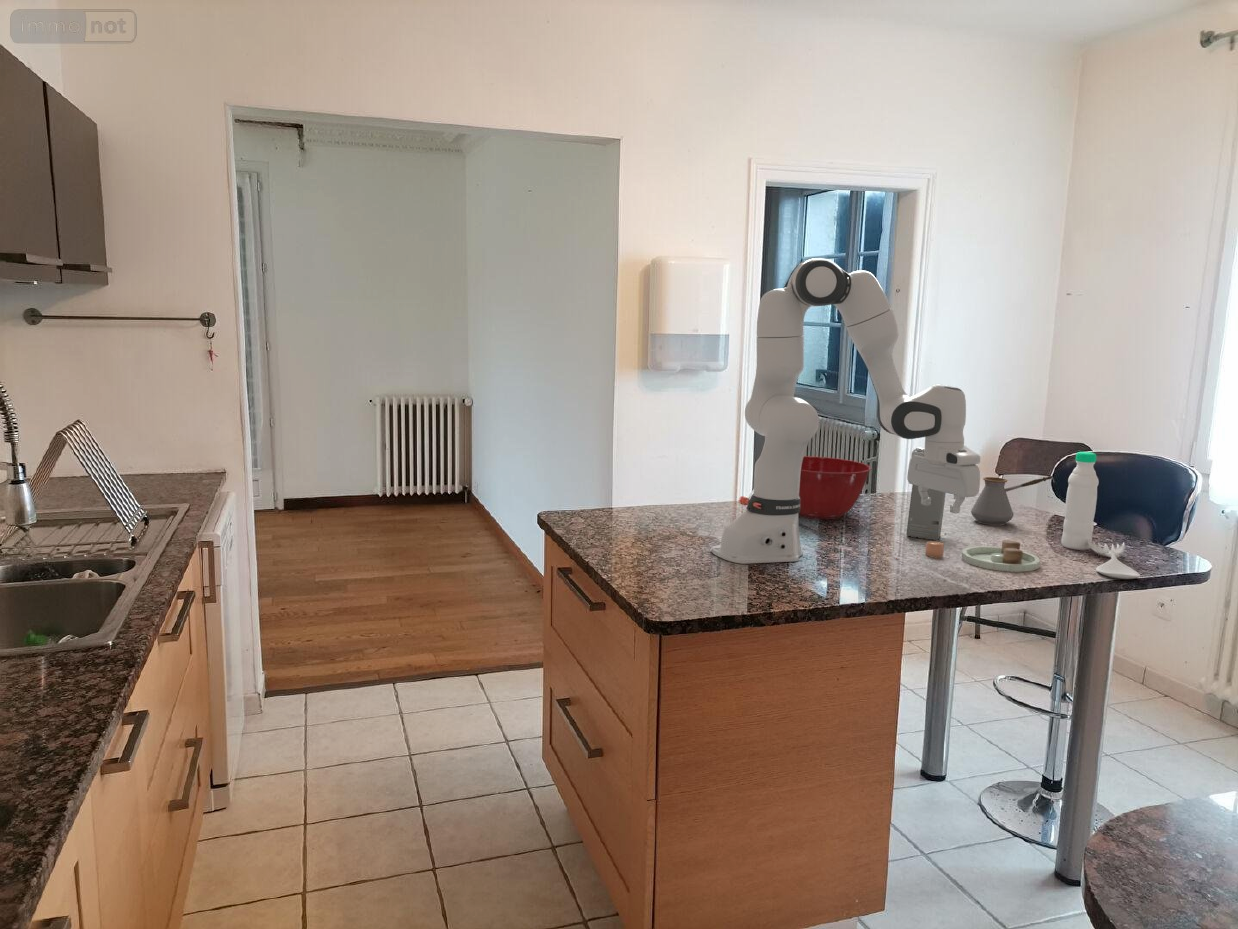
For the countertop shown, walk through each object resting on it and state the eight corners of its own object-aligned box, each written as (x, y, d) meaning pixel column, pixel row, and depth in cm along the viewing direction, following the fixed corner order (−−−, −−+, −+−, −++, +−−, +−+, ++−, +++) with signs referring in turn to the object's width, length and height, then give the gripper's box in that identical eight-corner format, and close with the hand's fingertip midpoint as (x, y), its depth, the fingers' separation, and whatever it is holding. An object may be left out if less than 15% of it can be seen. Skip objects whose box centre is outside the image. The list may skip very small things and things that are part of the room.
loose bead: (933, 562, 218) (934, 546, 218) (921, 558, 222) (922, 542, 221) (946, 560, 220) (947, 544, 219) (934, 556, 224) (935, 540, 223)
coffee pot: (970, 524, 260) (975, 473, 257) (969, 516, 270) (973, 467, 268) (1052, 532, 253) (1058, 479, 250) (1047, 523, 264) (1052, 472, 261)
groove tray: (1001, 578, 206) (1002, 568, 205) (946, 559, 221) (946, 549, 220) (1054, 571, 213) (1055, 561, 212) (997, 553, 228) (997, 543, 227)
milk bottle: (1087, 545, 239) (1098, 451, 235) (1093, 551, 232) (1104, 455, 228) (1058, 542, 241) (1068, 449, 236) (1063, 549, 234) (1074, 453, 230)
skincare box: (905, 536, 243) (910, 478, 240) (910, 531, 249) (915, 475, 247) (938, 541, 239) (943, 482, 237) (942, 535, 245) (947, 478, 243)
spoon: (1124, 554, 230) (1125, 541, 230) (1143, 587, 201) (1144, 572, 200) (1084, 549, 234) (1086, 536, 233) (1097, 582, 204) (1099, 567, 204)
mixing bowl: (861, 507, 280) (864, 457, 278) (873, 528, 252) (877, 473, 250) (768, 502, 284) (771, 453, 281) (771, 522, 256) (773, 468, 254)
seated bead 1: (1010, 561, 217) (1011, 545, 216) (997, 557, 220) (998, 541, 220) (1022, 559, 219) (1023, 543, 218) (1008, 555, 222) (1010, 539, 221)
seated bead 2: (1012, 570, 209) (1014, 553, 209) (998, 565, 213) (1000, 549, 212) (1024, 568, 211) (1026, 551, 210) (1010, 563, 215) (1012, 547, 214)
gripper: (902, 447, 225) (899, 501, 227) (965, 459, 206) (961, 518, 209) (922, 445, 227) (919, 499, 229) (986, 457, 209) (982, 516, 211)
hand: (939, 508), depth 219 cm, fingers open, 8 cm apart
